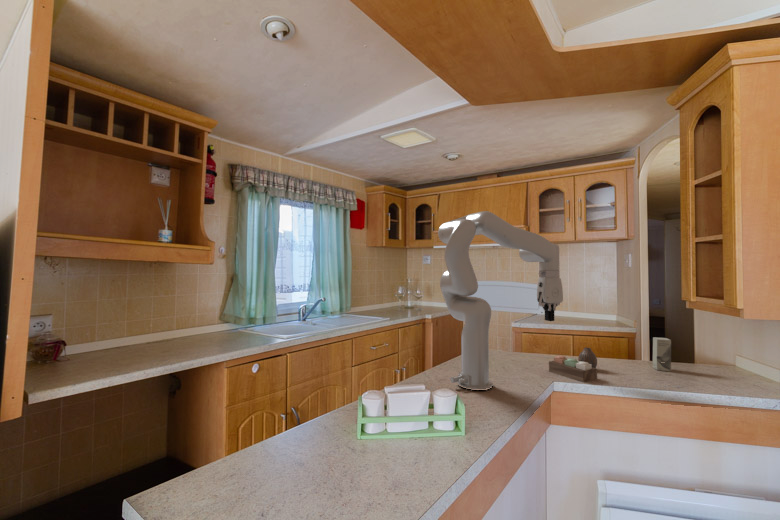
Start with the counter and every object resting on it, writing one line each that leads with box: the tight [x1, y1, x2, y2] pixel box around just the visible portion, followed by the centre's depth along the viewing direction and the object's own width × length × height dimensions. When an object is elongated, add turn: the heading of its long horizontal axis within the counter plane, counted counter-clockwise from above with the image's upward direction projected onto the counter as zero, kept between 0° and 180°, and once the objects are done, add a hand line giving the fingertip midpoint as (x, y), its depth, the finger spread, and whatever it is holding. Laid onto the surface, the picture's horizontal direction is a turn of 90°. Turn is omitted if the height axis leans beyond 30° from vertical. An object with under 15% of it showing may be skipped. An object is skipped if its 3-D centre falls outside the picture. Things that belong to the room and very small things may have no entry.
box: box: [652, 336, 672, 372], centre depth 148 cm, size 5×4×13 cm
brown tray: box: [548, 360, 598, 383], centre depth 140 cm, size 8×15×4 cm, turn 26°
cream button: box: [576, 361, 592, 370], centre depth 136 cm, size 4×4×3 cm
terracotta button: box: [553, 355, 569, 364], centre depth 145 cm, size 4×4×3 cm
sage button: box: [565, 358, 580, 367], centre depth 140 cm, size 4×4×3 cm
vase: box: [577, 347, 598, 368], centre depth 148 cm, size 7×7×9 cm
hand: (549, 320), depth 143 cm, fingers closed
